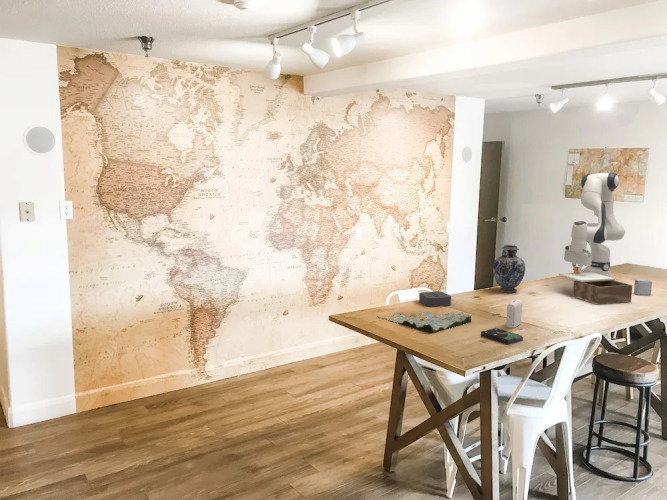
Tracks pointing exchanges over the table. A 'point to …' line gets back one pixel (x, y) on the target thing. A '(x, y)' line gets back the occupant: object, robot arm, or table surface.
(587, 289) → the wooden box
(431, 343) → the table surface
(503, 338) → the disk drive
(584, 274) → the box lid
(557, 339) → the table surface
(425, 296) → the streaming box
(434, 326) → the topographic map model
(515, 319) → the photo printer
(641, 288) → the medicine box
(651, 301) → the table surface
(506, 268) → the decorative vase
